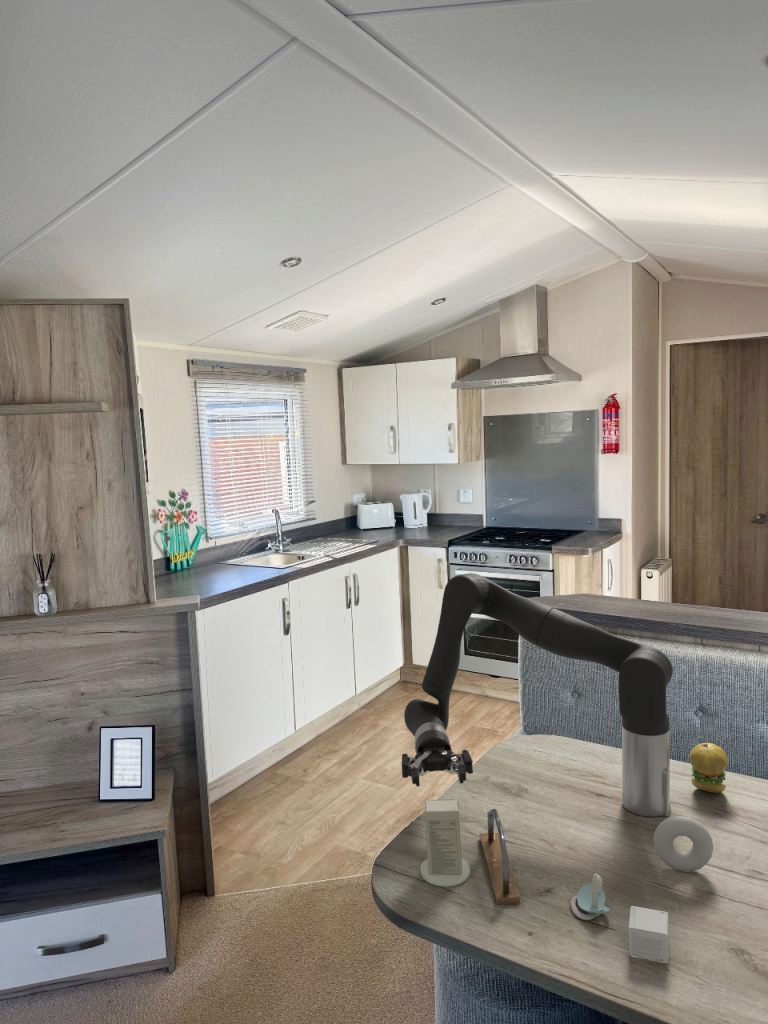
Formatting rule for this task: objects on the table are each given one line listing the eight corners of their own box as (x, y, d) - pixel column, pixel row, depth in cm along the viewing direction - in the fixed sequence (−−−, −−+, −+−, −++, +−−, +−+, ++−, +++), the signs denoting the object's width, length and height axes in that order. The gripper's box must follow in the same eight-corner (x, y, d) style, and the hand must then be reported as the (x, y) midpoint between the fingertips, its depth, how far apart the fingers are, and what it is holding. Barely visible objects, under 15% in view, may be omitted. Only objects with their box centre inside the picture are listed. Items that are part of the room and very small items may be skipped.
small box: (630, 932, 117) (630, 904, 117) (669, 941, 115) (669, 911, 114) (628, 957, 112) (628, 927, 111) (668, 966, 110) (668, 935, 109)
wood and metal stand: (479, 839, 145) (478, 791, 144) (499, 838, 145) (498, 790, 144) (497, 904, 125) (495, 849, 124) (520, 903, 125) (519, 848, 124)
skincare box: (462, 861, 137) (460, 798, 136) (462, 875, 133) (460, 810, 131) (427, 861, 137) (425, 798, 136) (426, 875, 133) (424, 810, 132)
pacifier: (574, 924, 120) (612, 924, 119) (572, 888, 119) (610, 888, 119) (567, 896, 127) (603, 896, 126) (566, 862, 126) (602, 861, 126)
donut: (711, 867, 133) (712, 815, 132) (714, 879, 130) (715, 825, 129) (652, 861, 136) (652, 809, 135) (653, 872, 132) (654, 819, 131)
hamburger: (730, 789, 160) (730, 736, 159) (725, 805, 154) (726, 749, 153) (691, 782, 164) (692, 730, 163) (686, 796, 158) (686, 743, 157)
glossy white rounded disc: (476, 863, 137) (476, 860, 137) (461, 891, 129) (461, 888, 129) (430, 853, 141) (430, 850, 141) (413, 880, 133) (413, 877, 133)
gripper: (398, 731, 159) (402, 764, 143) (464, 726, 159) (475, 759, 143) (400, 764, 160) (404, 801, 144) (466, 760, 160) (477, 796, 144)
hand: (439, 780), depth 143 cm, fingers open, 8 cm apart
